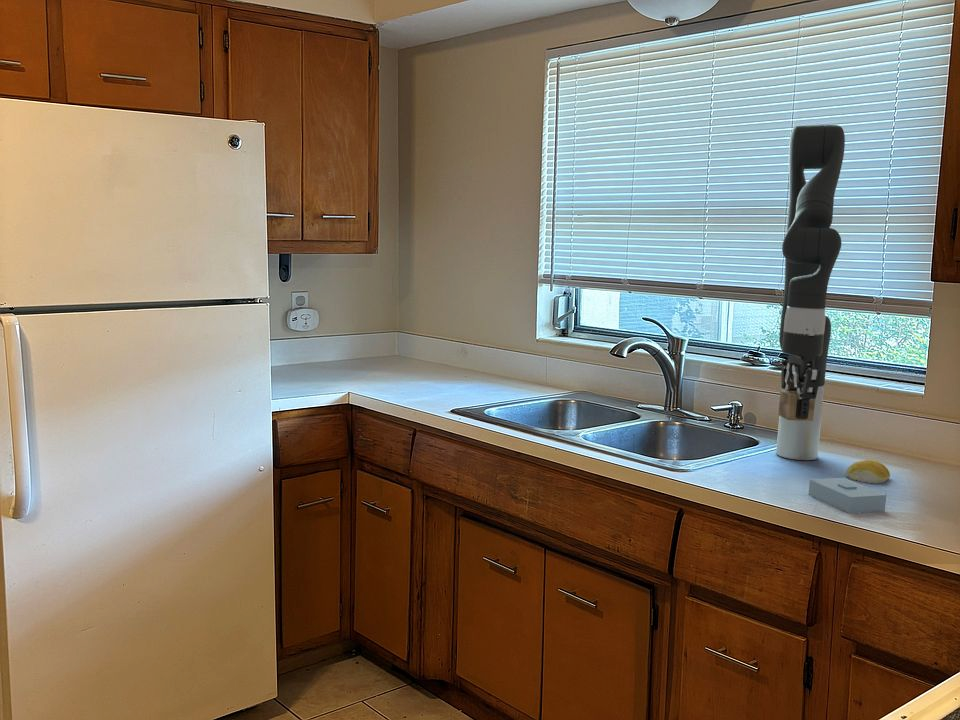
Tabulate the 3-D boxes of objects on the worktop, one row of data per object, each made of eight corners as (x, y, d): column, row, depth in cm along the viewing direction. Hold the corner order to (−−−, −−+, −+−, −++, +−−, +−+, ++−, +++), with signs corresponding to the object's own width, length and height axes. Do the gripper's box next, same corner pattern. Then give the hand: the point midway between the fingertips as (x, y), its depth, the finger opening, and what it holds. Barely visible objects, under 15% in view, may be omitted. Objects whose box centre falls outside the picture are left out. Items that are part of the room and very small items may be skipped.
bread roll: (892, 478, 193) (894, 460, 192) (882, 487, 186) (884, 468, 185) (852, 471, 198) (853, 453, 197) (841, 479, 190) (843, 461, 190)
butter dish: (808, 496, 177) (809, 477, 177) (842, 494, 180) (843, 476, 179) (848, 515, 166) (850, 495, 165) (884, 512, 168) (886, 493, 168)
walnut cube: (778, 415, 179) (780, 390, 178) (802, 415, 179) (804, 391, 179) (788, 420, 174) (790, 395, 174) (813, 420, 175) (815, 395, 174)
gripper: (771, 326, 181) (764, 408, 184) (799, 334, 167) (791, 422, 169) (807, 327, 182) (800, 409, 184) (838, 335, 167) (830, 424, 170)
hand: (796, 415), depth 177 cm, fingers closed on walnut cube, 5 cm apart
